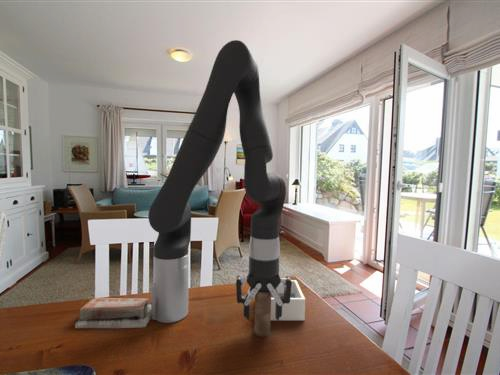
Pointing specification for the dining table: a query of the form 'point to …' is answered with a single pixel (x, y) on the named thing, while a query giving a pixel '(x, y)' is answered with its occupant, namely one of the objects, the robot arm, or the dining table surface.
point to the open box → (296, 305)
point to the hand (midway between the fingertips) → (262, 317)
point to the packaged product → (115, 313)
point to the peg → (262, 314)
